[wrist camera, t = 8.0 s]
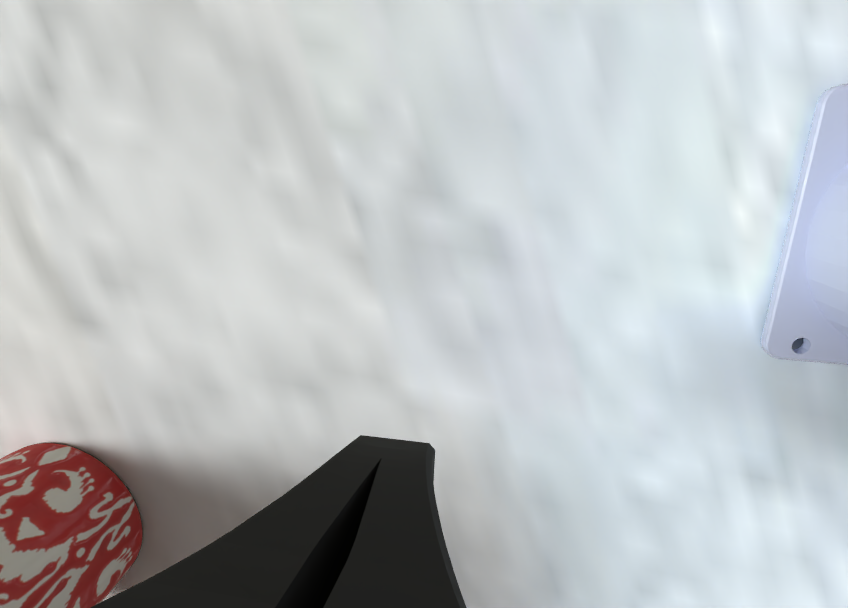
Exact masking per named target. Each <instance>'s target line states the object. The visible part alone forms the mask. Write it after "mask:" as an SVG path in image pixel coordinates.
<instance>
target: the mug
mask: <svg viewBox="0 0 848 608" xmlns="http://www.w3.org/2000/svg"><path fill="white" fill-rule="evenodd" d="M141 543H142V523H141V518H140V514H139V511H138V509H137V506H136V504H135V502H134V500H133V497H132V496H131V494H130V492H129V491H128V489H127V488H126V487H125V485H124V484H123V483H122V481H121V480H120V479H119V478H118V477H117V476H116V474H115V473H113V472H112V471H111V470H110V469H109V468H108V467H107V466H105V465H104V464H103V463H102V462H100V461H99V460H97V459H96V458H94V457H92V456H91V455H89V454H87V453H85V452H83V451H81V450H78V449H76V448H73V447H71V446H66V445H61V444H54V443H41V444H34V445H30V446H27V447H24V448H22V449H20V450H17V451H15V452H13V453H11V454H9V455H7V456H5V457H3V458H1V459H0V608H90V607H92V606H94V605H96V604H98V603H101V602H102V601H103V600H104V598H105V597H106V596H107V595H108V594H109V592H110V591H111V590H112V589H113V588H114V587H115V585H116V584H117V583H118V582H119V581H120V579H121V578H122V577H123V576H124V575H125V573H126V572H127V571H128V570H129V568H130V567H131V566H132V564H133V563H134V561H135V560H136V558H137V556H138V553H139V550H140V547H141Z"/></svg>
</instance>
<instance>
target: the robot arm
mask: <svg viewBox="0 0 848 608" xmlns="http://www.w3.org/2000/svg"><path fill="white" fill-rule="evenodd" d="M798 338H803V344H802V346H801V347H799V348H797V349H792V344H793V342H794V341H795V340H797V339H798ZM761 346H762V348H763V350H764V351H765V352H767V353H768V354H769V355H771V356H772V357H774V358H778V359H787V360H799V361H810V362H822V363H834V364H846V365H848V84H844V85H838V86H834V87H831V88H829V89H828V90H826V91H825V92H824V93H823V94H822V95H821V96H820V97H819V99H818V102H817V104H816V108H815V112H814V116H813V121H812V125H811V129H810V133H809V138H808V142H807V146H806V150H805V155H804V159H803V163H802V167H801V172H800V176H799V180H798V184H797V189H796V193H795V197H794V201H793V206H792V210H791V214H790V218H789V222H788V227H787V231H786V235H785V239H784V244H783V248H782V252H781V256H780V261H779V265H778V269H777V273H776V278H775V282H774V286H773V290H772V295H771V299H770V303H769V307H768V312H767V316H766V320H765V324H764V329H763V333H762V337H761ZM434 461H435V450H434V448H433V447H432V446H431V445H430V444H429V443H422V442H414V441H405V440H396V439H388V438H379V437H371V436H362V435H361V436H359V437H358V438H357V439H355V440H354V441H353V442H351V443H350V444H349V445H347V446H346V447H345V448H344V449H342V450H341V451H340V452H339V453H337V454H336V455H335V456H333V457H332V458H331V459H330V460H328V461H327V462H326V463H325V464H323V465H322V466H321V467H320V468H318V469H317V470H316V471H315V472H313V473H312V474H311V475H309V476H308V477H307V478H305V479H304V480H303V481H302V482H300V483H299V484H298V485H296V486H295V487H294V488H292V489H291V490H290V491H288V492H287V493H286V494H284V495H283V496H282V497H280V498H279V499H277V500H276V501H274V502H273V503H271V504H270V505H269V506H267V507H266V508H264V509H263V510H261V511H260V512H258V513H257V514H255V515H254V516H252V517H251V518H250V519H248V520H247V521H245V522H244V523H242V524H241V525H239V526H238V527H236V528H235V529H233V530H232V531H230V532H229V533H227V534H226V535H224V536H222V537H221V538H219V539H218V540H216V541H214V542H213V543H211V544H209V545H208V546H206V547H204V548H203V549H201V550H199V551H198V552H196V553H194V554H192V555H191V556H189V557H187V558H185V559H184V560H182V561H180V562H178V563H176V564H175V565H173V566H171V567H169V568H168V569H166V570H164V571H162V572H160V573H159V574H157V575H155V576H153V577H151V578H149V579H147V580H145V581H144V582H142V583H139V584H137V585H135V586H133V587H131V588H129V589H127V590H125V591H123V592H121V593H119V594H117V595H115V596H113V597H111V598H109V599H107V600H105V601H103V602H101V603H98V604H96V605H94V606H92V607H90V608H466V605H465V603H464V600H463V597H462V594H461V592H460V589H459V586H458V583H457V580H456V577H455V574H454V571H453V568H452V564H451V561H450V558H449V554H448V551H447V548H446V544H445V540H444V536H443V533H442V528H441V524H440V519H439V514H438V510H437V505H436V500H435V494H434V485H433V480H434Z"/></svg>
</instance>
